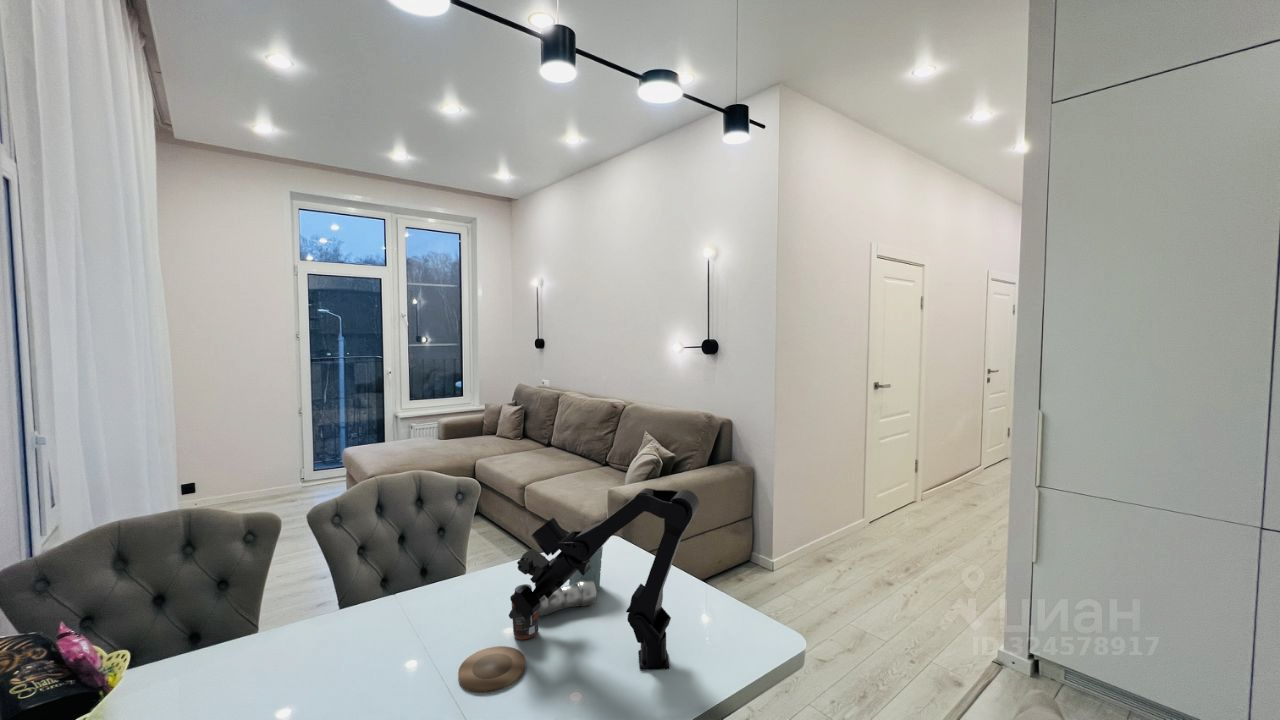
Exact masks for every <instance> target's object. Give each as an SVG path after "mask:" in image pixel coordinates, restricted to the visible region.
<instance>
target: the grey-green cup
mask: <svg viewBox="0 0 1280 720" xmlns="http://www.w3.org/2000/svg"><path fill="white" fill-rule="evenodd" d="M603 549H604V548H603V546H602V547H601V548H600V549H599V550H598V551H597V552H596V553H595V554H594V555H593V556H592V557H591V558H590V559H589V560H590V567H591V569H590V570H589V571H588V572H587V573H586V574H585V575H584V576H583V575H582V574H581V573H580V572H579V571H578V570H577V571H576V572H575V573H574V574H573V575H572V576H571V577H570V578H569V580H568V581H569V582H568V585H571V584H574V583H577V582H579V581H582V580H588V579H589V580H592V581H593V582H594V584H595V588H596V593H597V592H598V591H599V590H600V588H601V587H600V584H601V573H602V558H603Z"/></svg>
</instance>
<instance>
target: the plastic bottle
mask: <svg viewBox="0 0 1280 720" xmlns="http://www.w3.org/2000/svg"><path fill="white" fill-rule="evenodd" d="M596 600H597V592H596V588H595V584H594V582H593V581H592V580H589V579H588V580H582V581H579V582H577V583H574V584H571V585H569V584H568V585H565V586H564V585H563V586H561V587H560V588H559V589H558V590H557V591H555V592H554V593H553V594H552V595H551V596H550V597H549V598H548V599H547V598H546V596H545V595H544V596H543V597H542V598H541V599H540V608H539V609H538V610H537V614H538V616H547V615H549V614H552V613H554V612H556V611H559V610H562V609H566V608H572V607H573V608H574V607H579V606H580V607H585V606H590V605H592V604H594V603H595V602H596Z"/></svg>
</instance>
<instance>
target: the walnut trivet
mask: <svg viewBox="0 0 1280 720" xmlns="http://www.w3.org/2000/svg"><path fill="white" fill-rule="evenodd" d="M526 664H527V663H526V656H525V654H524V653H523V652H522V651H520V649H517V648H515V647H511V646H506V645H505V646H503V645H500V646H499V645H498V646H492V647H487V648H483V649H481V650H478V651H476V652H475V653H472V654H471V655H469V656H468V657H466V659H464V660H463V662H462V663H461V664H460V666H459V668H458V672H457V674H458V675H457V676H458V682H459V684H460V686H461V687H462V688H463V689H465V690H467V691H468V692H469V691H470V692H472V693H478V694H479V693H481V694H486V693H492V692H497V691H498V692H499V691H500V690H503V689H506V688H508V687H510V686H512V685H513V684H514V683H517V681H518V680H519V679H520V678H521V677H522V676H523V675H524V673H525V671H526V668H527V665H526Z"/></svg>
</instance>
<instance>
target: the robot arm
mask: <svg viewBox="0 0 1280 720" xmlns="http://www.w3.org/2000/svg"><path fill="white" fill-rule="evenodd" d="M699 507H700V500H699V497H698V496H697V495H696V494H695V493H694V492H693V491H692V490H688V489H682V490H679V491H678V490H671V489H654V488H649V487H647V488H646V487H644V488H643V489H641V490H640V491H639V492H638V493H636V495H635V496H634V497H633V498H631V499H630V500H629V501H628V502H626V503H625V504H624V505H622V506H621V507H620V508H618V509H617V510H616V511H615V512H613V513H612V514H610V516H608V517H606V518H605V519H604V520H601V521H600V522H596V523H594V524H592V525H590V526H588V527H585V529H583V530H572V531H571V532H569V533H568V534H567V533H566V532H565V530H564V529H563V528H562V527H561V526H560V525H559V523H558V521H557V520H556V518H554V517H551V518H550V519H549V520H548V521H546V522H545V523H544V524H543V525H542V526H540V527H539V528H537V529H536V530H535V531H534V532H533V533H532V534H531V535H530V538H532V540H533V541H534V542H535V544H536V545H537V546H538V547H539V548H540V549H541V551H543V554H545V556H544V555H543V554H541V553H540V552H539V551H537V550H536V549H533V548H530V549H528V550H527V551H526V552H524V553H523V554H522V556H521V557H520V559H519V560H518V561H517V563H516V564H517V570H518V571H519V572H521V574H523V575H529V576H532V577H530V578H529V579H530V581H531V582H532V584H534V589H532V590H531V589H530V588H529V586H525V585H523V584H522V585H523V586H522V587H521V588H520V589H518V590H517V591H516V592H515V591H514V593H513V594H511V596H510V597H509V598H510V601H511V604H512V603H513V604H514V606H513V608H512V607H511V610H510V611H509V612H508V613H509V614H508V617H509V618H510V620H513V619H514V618H520V617H524V618H525V619H528V618H530V617H531V616H532V615H533V614H534V613H535V612H536V611H537V610H538V609H539V608H540V599H541V598H542V597H543V596H544V595H545V596H546V598H547V599H548V598H549V597H550V596H551V595H552V594H553V593H554V592H555V591H557V590H558V589H559V588H560V587H563V586H564V585H565V584H566V583H567V581H570V580H569V578H570V577H571V576H572V575H573V574H574V573H575V572H576V571H577V570H578V571H579V572H580V573H581V574H582V575H583V576H584V575H585V574H586V573H587V572H588V571H589V570H590V569H591V567H590V560H589V559H590V558H591V557H592V556H593V555H594V554H595V553H596V552H597V551H598V550H599V549H600V548H601V547H603V546H604V545H605V544H606V543H607V541H608V540H610V538H611V537H612V536H614V535H615V534H616V533H618V532H619V531H620V530H621V529H623V528H624V527H626V526H627V525H628V524H630V523H631V522H632V521H633V520H635V519H636V518H637V517H638V516H640V515H642V514H643V513H644V512H645V513H646V512H647V513H649V514H651V515H653V516H655V517H658V518H659V519H664V520H663V534H662V536H661V540H660V542H659V545H658V548H657V552H656V554H655V557H654V560H653V562H652V565H651V567H650V570H649V573H648V576H647V578H646V581H645V585H644V584H643V583H640V584H639V585H638V587H637V588H636V589H635V591H634V592H633V594H632V595H631V598H630V602H629V603H630V604H629V606H628V607H627V609H626V610H625V612H626V613H628V614H627V622H628V623H629V626H630V627H631V628H632V630H633V633H634V636H635V639H636V642H637V643H639V644H640V649H639V650H638V653H637V654H638V666H639V671H654V670H655V671H657V670H669V669H670V662H669V655H668V649H667V632H666V630H667V628H668V627H669V626H670V622H671V620H672V617H671V616H670V614H669V613H668V612H667V610H665V609H664V608H663V600H664V586H665V584H666V581H667V578H668V576H669V574H670V572H671V571H670V570H671V568H672V564H673V562H674V560H675V557H676V554H677V550H678V548H679V546H680V543H681V540H682V537H683V536H684V535H683V534H684V533H685V532H686V530H687V528H688V526H689V525H690V524H691V522H692V520H693V518H694V517H695V515H696V513H697V511H698V510H699ZM558 551H560V552H559V553H558V554H557V552H558ZM555 554H557V555H556V556H555V557H553V558H552V559H550V560H549V559H547V558H546V556H547V557H548V556H549V555H551V556H554V555H555Z"/></svg>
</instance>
